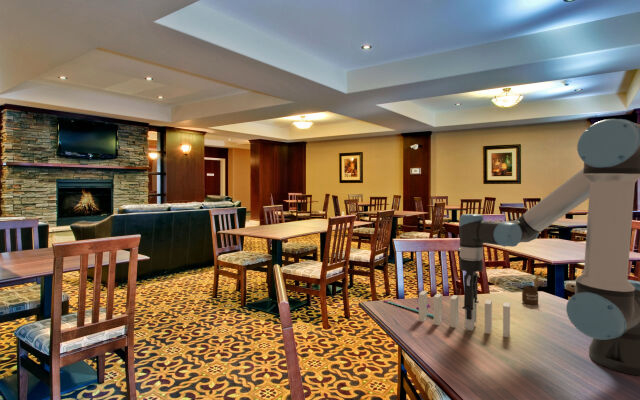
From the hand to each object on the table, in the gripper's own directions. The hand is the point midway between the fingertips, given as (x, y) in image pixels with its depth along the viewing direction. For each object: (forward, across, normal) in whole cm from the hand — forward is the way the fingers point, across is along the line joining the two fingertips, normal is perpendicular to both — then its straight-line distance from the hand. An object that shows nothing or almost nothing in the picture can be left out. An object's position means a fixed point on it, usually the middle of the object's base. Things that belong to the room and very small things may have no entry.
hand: (470, 324), depth 122 cm
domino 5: (+1, 0, +6) cm, 6 cm away
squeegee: (+2, -12, -22) cm, 25 cm away
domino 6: (+1, 0, +11) cm, 11 cm away
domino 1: (+1, 0, -16) cm, 17 cm away
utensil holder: (+1, -42, +18) cm, 46 cm away
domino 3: (+1, 0, -6) cm, 6 cm away
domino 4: (+1, 0, 0) cm, 1 cm away
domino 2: (+1, +1, -11) cm, 11 cm away
